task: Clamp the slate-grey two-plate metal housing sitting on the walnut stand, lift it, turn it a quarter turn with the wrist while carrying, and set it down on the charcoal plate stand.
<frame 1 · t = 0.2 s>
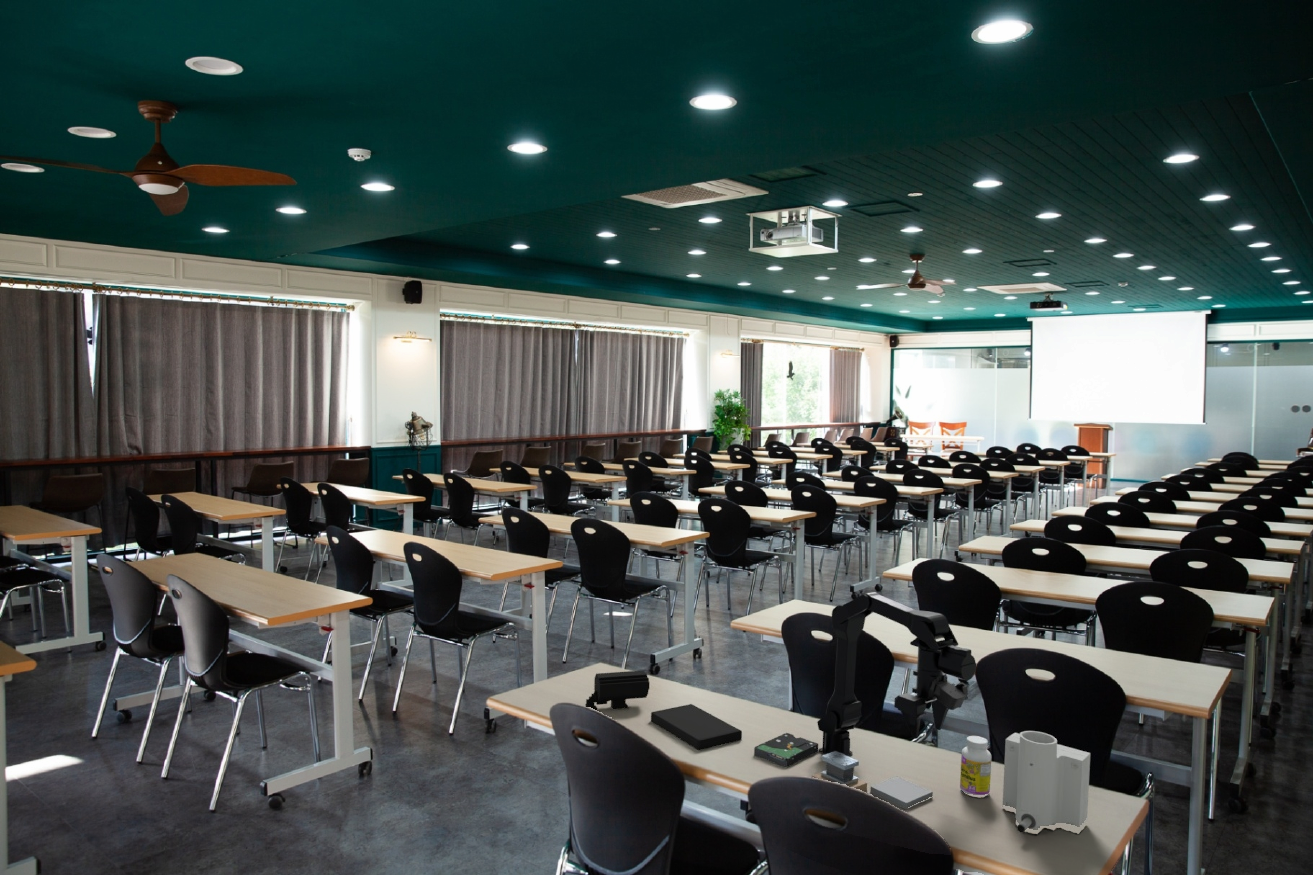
hand: (926, 733, 200), 14 cm above the table, fingers open, 9 cm apart
supplement bottle: (974, 793, 202), on the table
stand b: (901, 795, 199), on the table
disk drive: (786, 756, 221), on the table
grey cylinder bracket: (1034, 828, 186), on the table
external hard drive: (694, 732, 235), on the table
housing: (839, 779, 202), point 2 cm above the table, touching stand a
security camera: (616, 708, 251), on the table
stand a: (839, 787, 202), on the table
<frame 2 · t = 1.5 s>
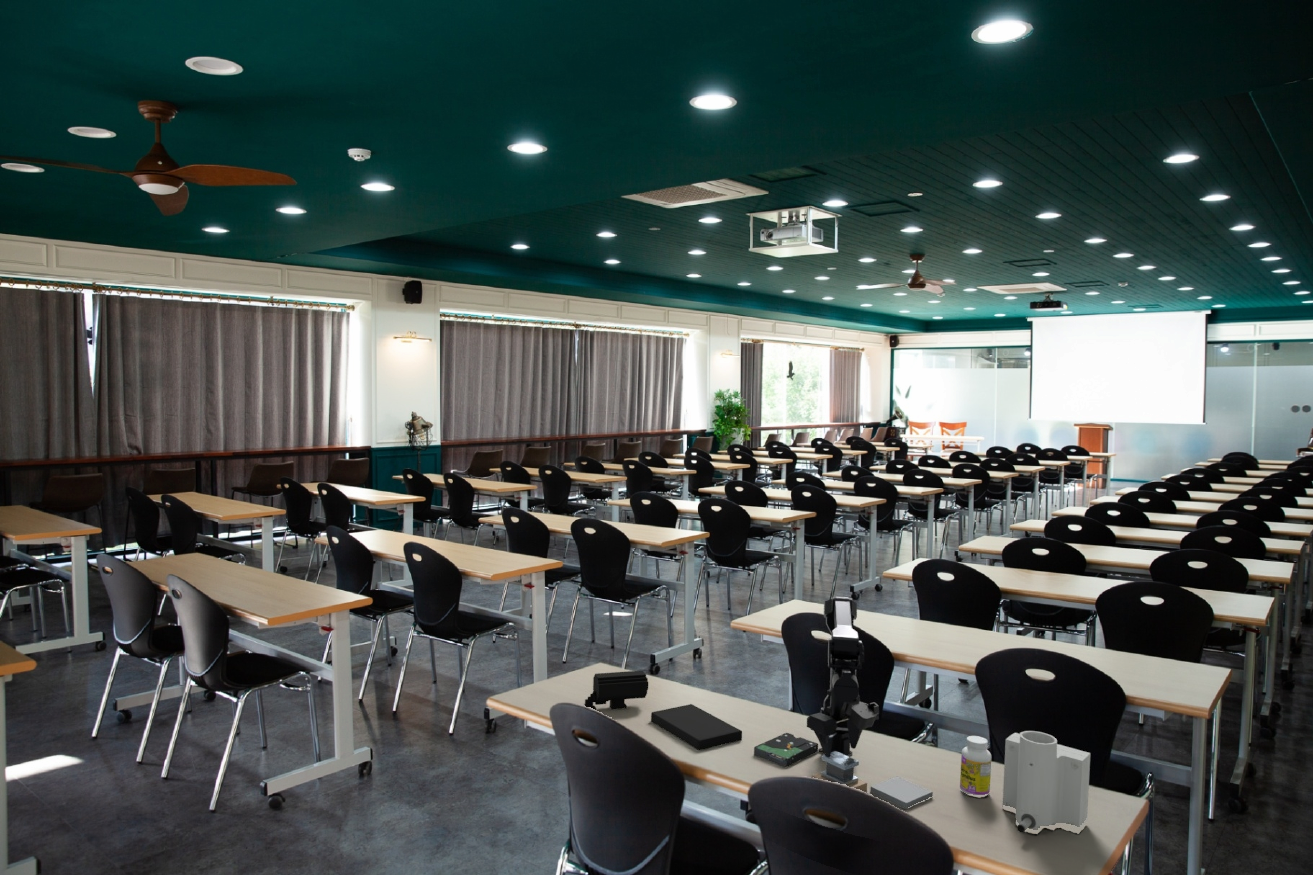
hand: (840, 752, 202), 8 cm above the table, fingers open, 9 cm apart
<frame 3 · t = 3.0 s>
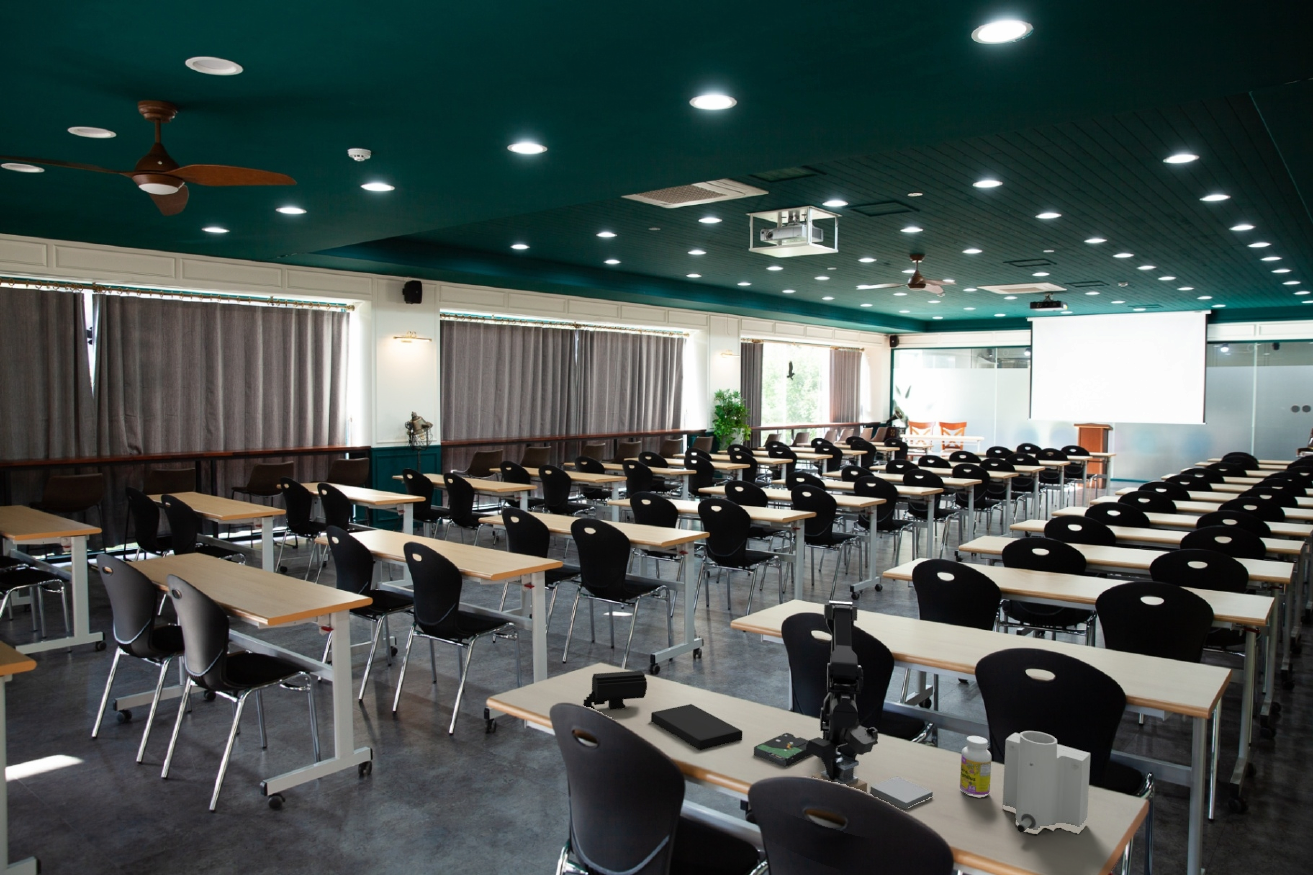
hand: (839, 777, 202), 3 cm above the table, fingers closed on housing, 5 cm apart
housing: (839, 779, 202), point 2 cm above the table, touching gripper, stand a
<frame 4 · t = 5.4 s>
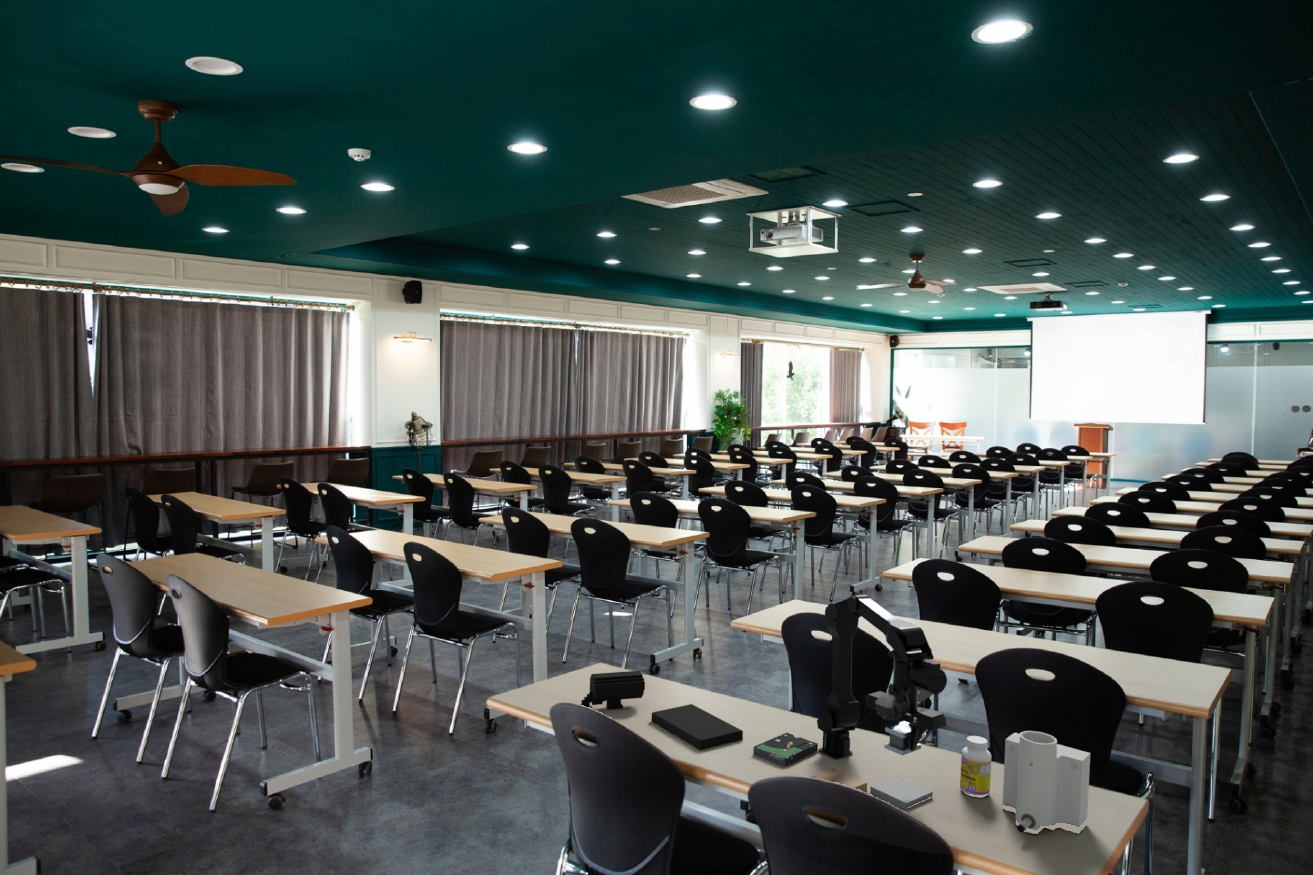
hand: (902, 746, 199), 12 cm above the table, fingers closed on housing, 5 cm apart
housing: (902, 748, 199), point 11 cm above the table, touching gripper
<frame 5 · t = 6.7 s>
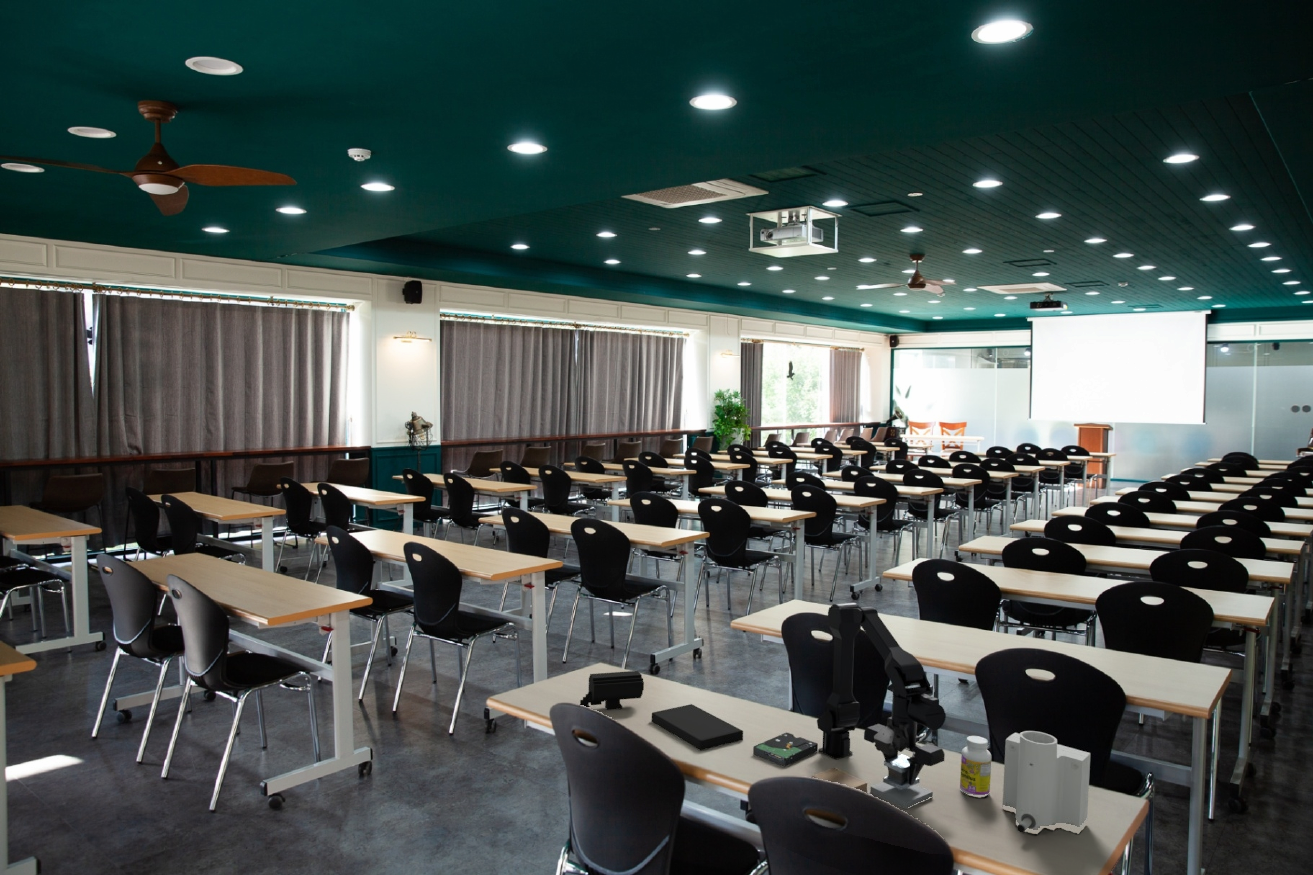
hand: (901, 780, 199), 4 cm above the table, fingers closed on housing, 5 cm apart
housing: (901, 782, 199), point 3 cm above the table, touching gripper
when the fingers open (2 cm above the table, at t = 7.8 s): housing stays where it is, resting on stand b.
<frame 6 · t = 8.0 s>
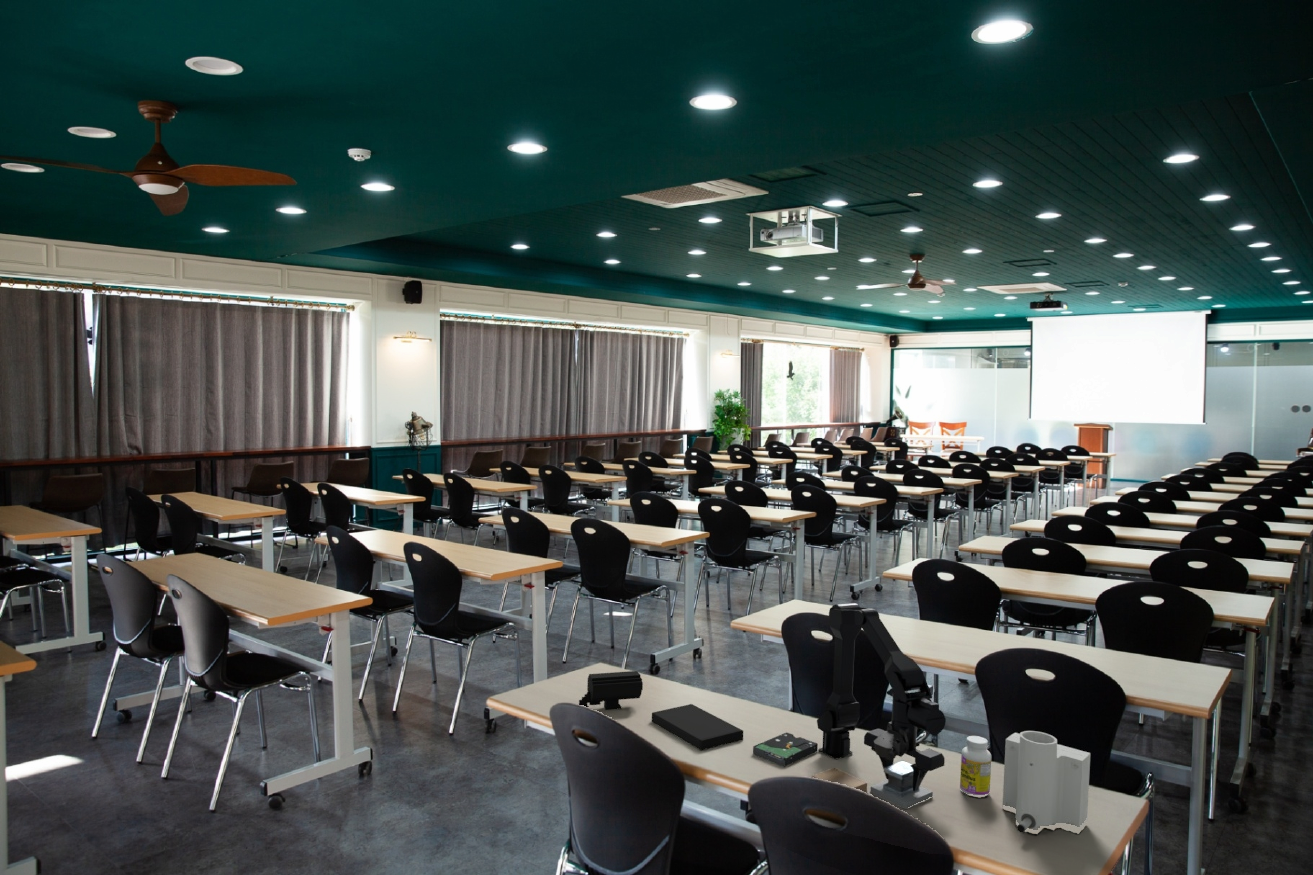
hand: (901, 784, 199), 2 cm above the table, fingers open, 7 cm apart
housing: (901, 789, 199), point 1 cm above the table, touching stand b
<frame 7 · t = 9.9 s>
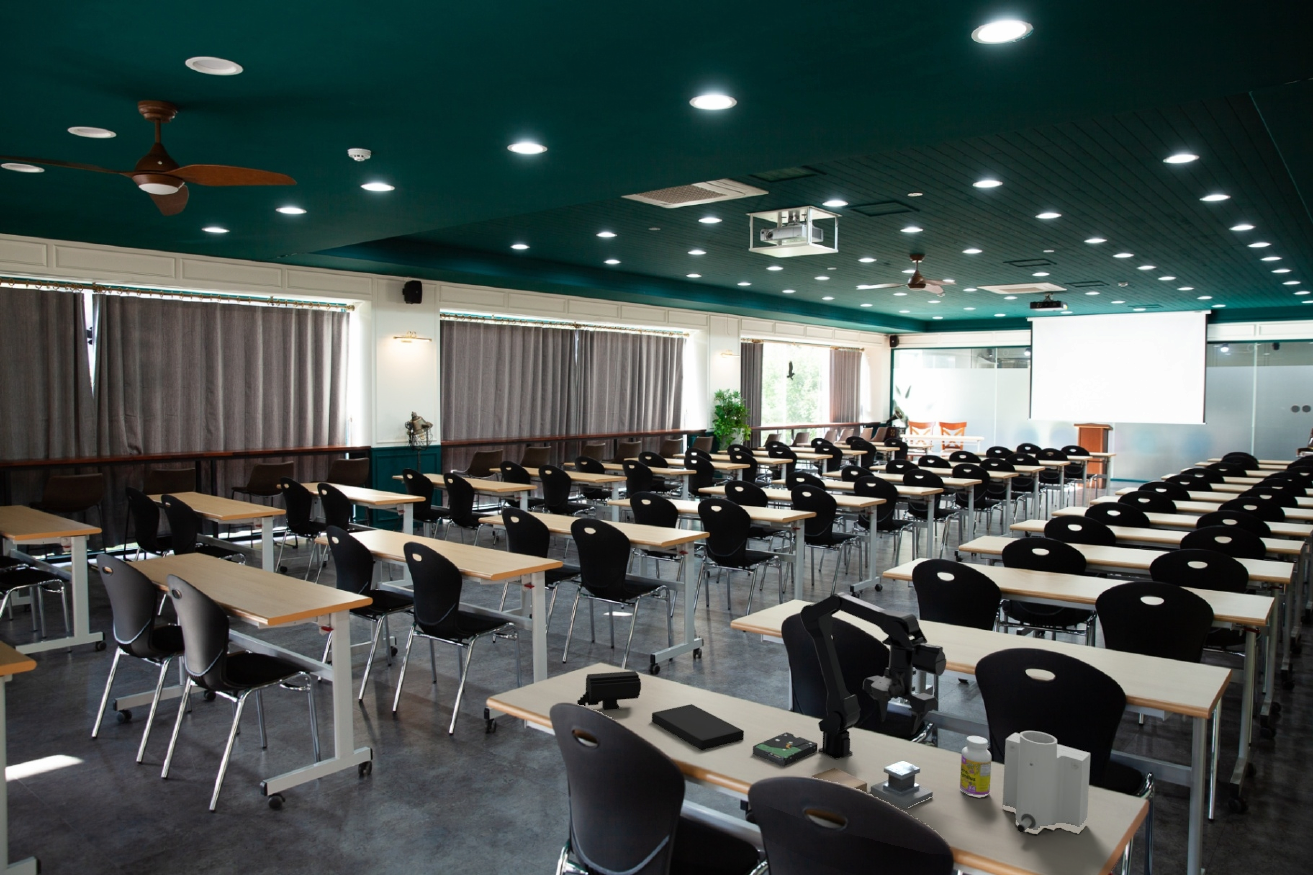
hand: (897, 727, 210), 12 cm above the table, fingers open, 9 cm apart
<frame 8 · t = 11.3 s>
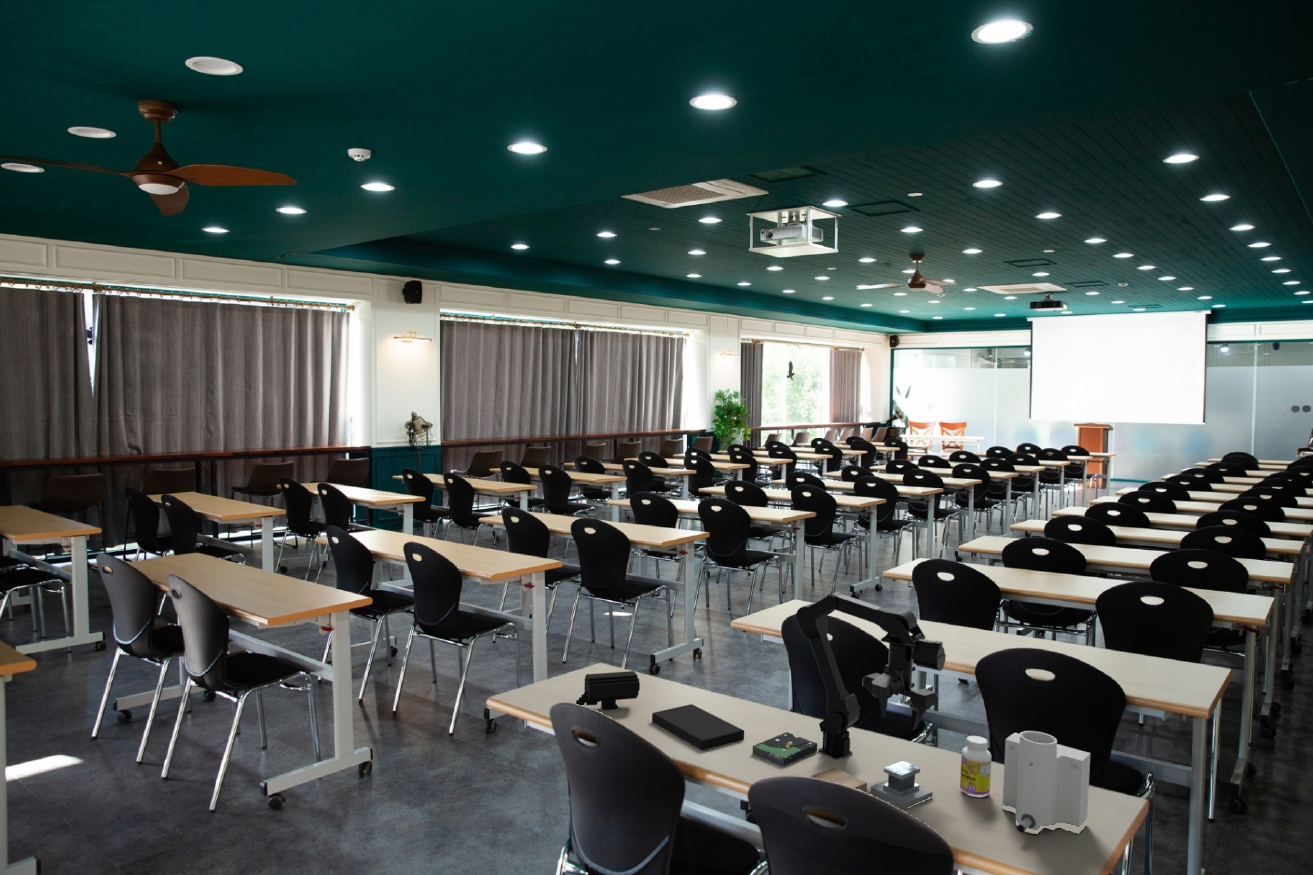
hand: (897, 724, 212), 12 cm above the table, fingers open, 9 cm apart
at the end: housing inside the target area on the stand b (0.1 cm from its centre), point 1.5 cm above the stand b's base; housing tilted 0°; the gripper is holding nothing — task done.
